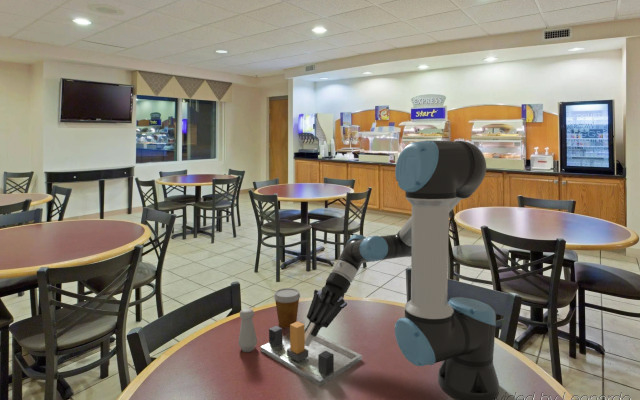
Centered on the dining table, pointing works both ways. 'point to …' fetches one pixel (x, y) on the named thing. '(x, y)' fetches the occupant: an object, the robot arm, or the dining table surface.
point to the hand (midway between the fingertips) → (304, 344)
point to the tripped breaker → (297, 342)
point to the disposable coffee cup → (287, 306)
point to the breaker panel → (312, 356)
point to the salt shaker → (247, 331)
